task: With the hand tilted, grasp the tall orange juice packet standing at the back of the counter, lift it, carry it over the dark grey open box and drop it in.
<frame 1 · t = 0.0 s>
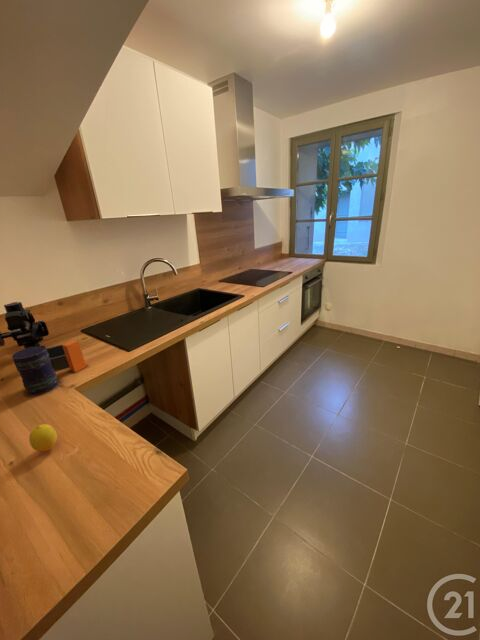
hand: (16, 340, 98), 17 cm above the worktop, tool horizontal, fingers open, 9 cm apart
storage jar: (43, 387, 97), on the worktop
packet: (78, 368, 109), on the worktop
dark grey open box: (61, 362, 114), on the worktop
lemon: (48, 449, 69), on the worktop
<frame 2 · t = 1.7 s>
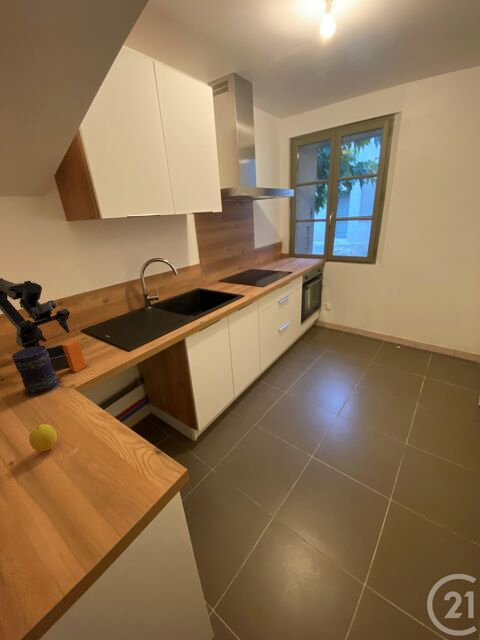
hand: (57, 336, 107), 13 cm above the worktop, tool tilted 45°, fingers open, 9 cm apart
nothing on the worktop moved.
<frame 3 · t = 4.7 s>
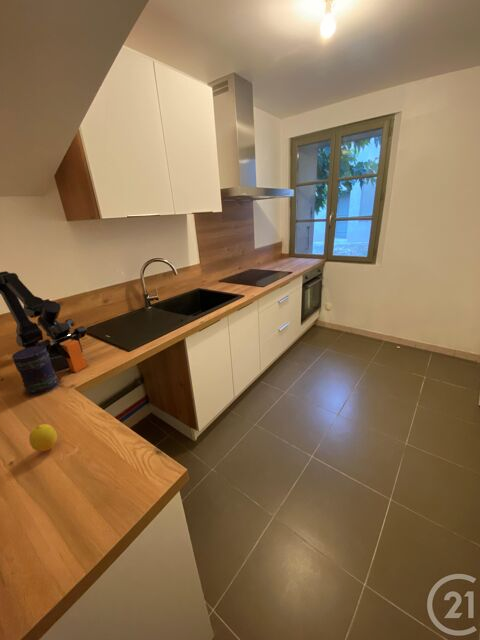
hand: (76, 355, 106), 7 cm above the worktop, tool tilted 45°, fingers closed on packet, 5 cm apart
packet: (78, 368, 109), on the worktop, touching gripper
everything else where it was.
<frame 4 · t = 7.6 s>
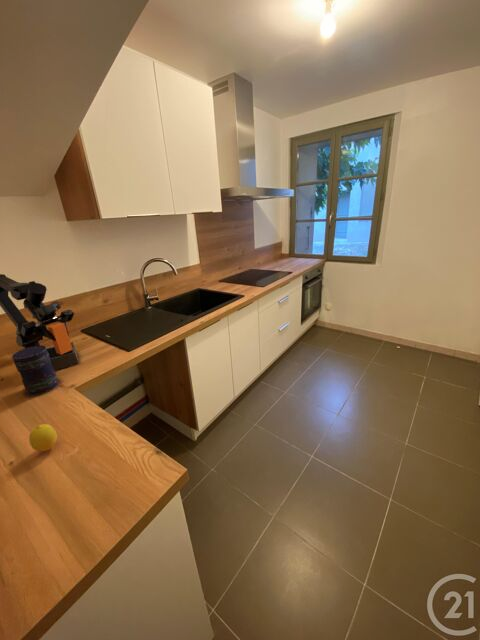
hand: (61, 337, 106), 13 cm above the worktop, tool tilted 45°, fingers closed on packet, 5 cm apart
packet: (64, 351, 109), point 7 cm above the worktop, touching gripper
everything else where it was.
when the fingers open (9 cm above the worktop, at t = 10.4 s): packet drops 2 cm, resting on dark grey open box.
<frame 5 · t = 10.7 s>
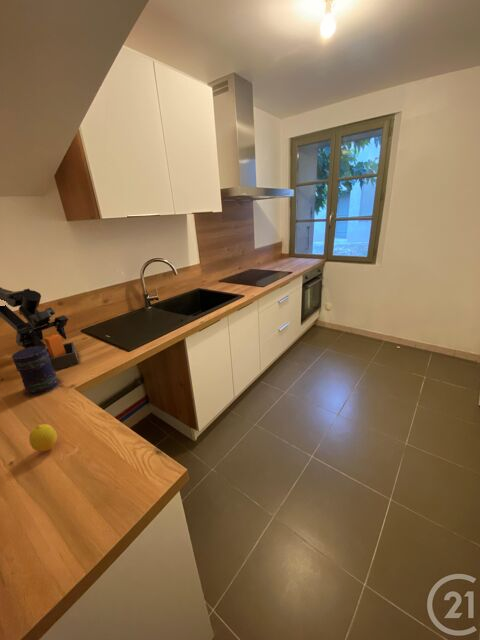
hand: (55, 342, 110), 10 cm above the worktop, tool tilted 45°, fingers open, 8 cm apart
packet: (60, 361, 114), resting on dark grey open box
everything else where it was.
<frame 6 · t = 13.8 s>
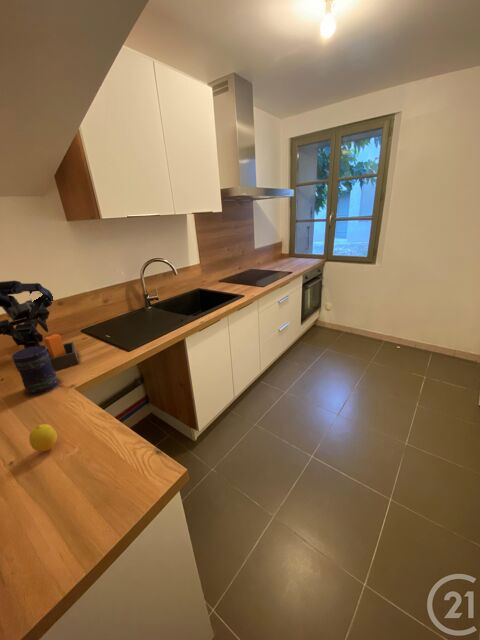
hand: (36, 335, 109), 14 cm above the worktop, tool tilted 45°, fingers open, 9 cm apart
nothing on the worktop moved.
at the end: packet inside the target area in the dark grey open box (0.0 cm from its centre), point 0.5 cm above the dark grey open box's base; the gripper is holding nothing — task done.
